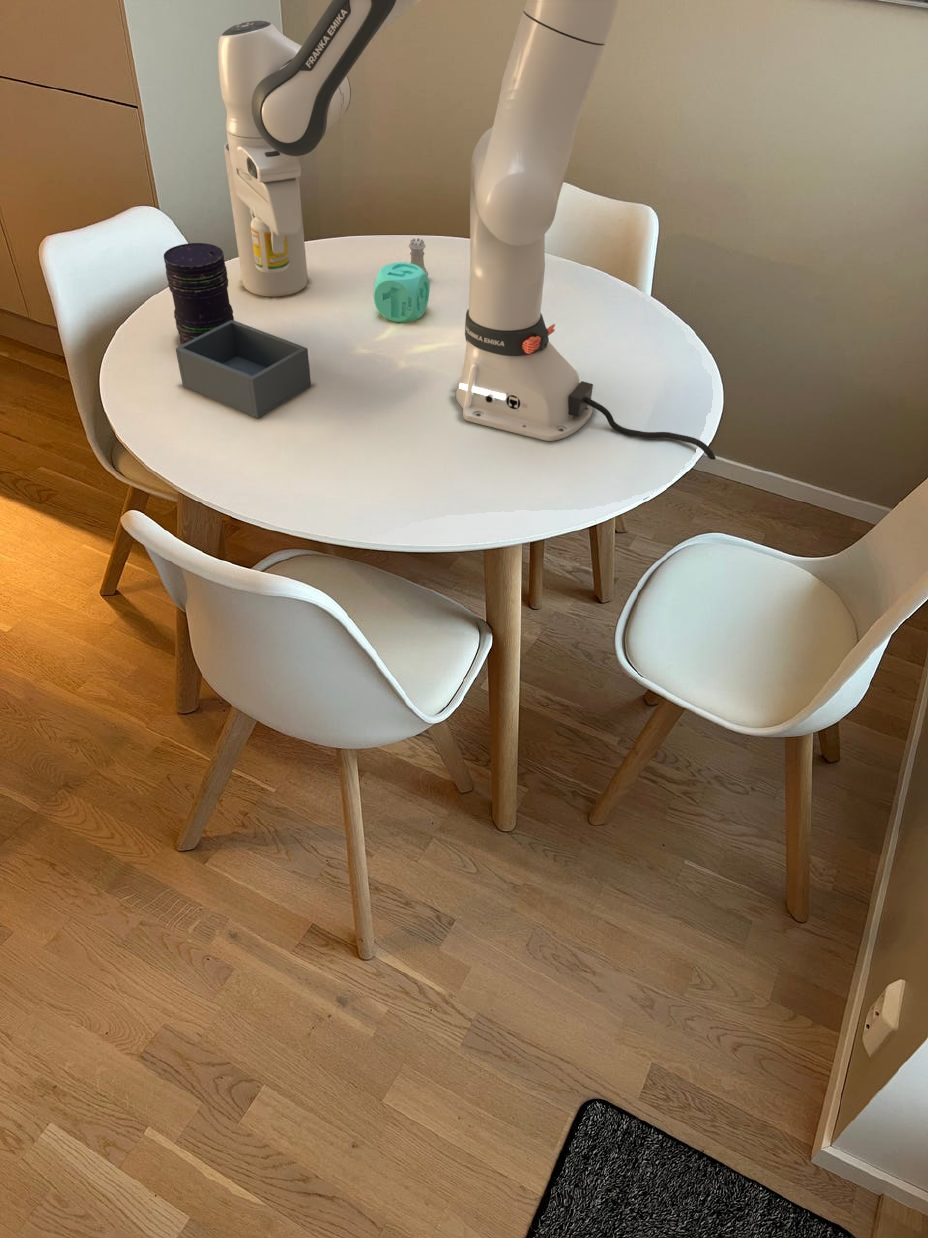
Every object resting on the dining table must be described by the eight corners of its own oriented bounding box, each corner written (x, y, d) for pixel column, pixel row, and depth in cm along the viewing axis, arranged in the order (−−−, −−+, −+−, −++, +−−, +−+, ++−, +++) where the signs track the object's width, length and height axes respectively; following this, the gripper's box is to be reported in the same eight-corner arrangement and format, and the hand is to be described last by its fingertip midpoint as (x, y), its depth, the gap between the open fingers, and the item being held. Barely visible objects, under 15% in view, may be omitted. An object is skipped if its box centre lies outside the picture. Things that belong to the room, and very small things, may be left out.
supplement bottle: (250, 270, 147) (241, 208, 141) (264, 258, 151) (257, 197, 145) (281, 275, 146) (274, 213, 140) (295, 262, 150) (289, 201, 144)
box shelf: (311, 386, 152) (307, 347, 148) (258, 418, 145) (252, 379, 140) (237, 356, 159) (231, 319, 154) (182, 386, 151) (174, 347, 146)
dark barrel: (180, 354, 159) (163, 268, 148) (177, 328, 166) (161, 244, 155) (239, 348, 161) (226, 263, 151) (234, 323, 168) (221, 240, 157)
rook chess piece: (402, 278, 184) (401, 237, 178) (423, 275, 185) (423, 234, 180) (411, 287, 181) (410, 246, 175) (432, 284, 182) (432, 243, 177)
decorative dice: (374, 318, 171) (372, 275, 165) (390, 300, 176) (389, 258, 171) (414, 325, 169) (414, 283, 164) (429, 307, 175) (430, 265, 169)
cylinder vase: (230, 281, 180) (210, 143, 163) (284, 265, 187) (270, 130, 170) (266, 303, 174) (248, 161, 157) (320, 286, 180) (309, 148, 163)
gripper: (216, 132, 142) (229, 224, 152) (262, 174, 129) (273, 271, 139) (256, 128, 144) (266, 218, 154) (305, 168, 132) (313, 264, 141)
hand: (270, 244), depth 146 cm, fingers closed on supplement bottle, 5 cm apart
